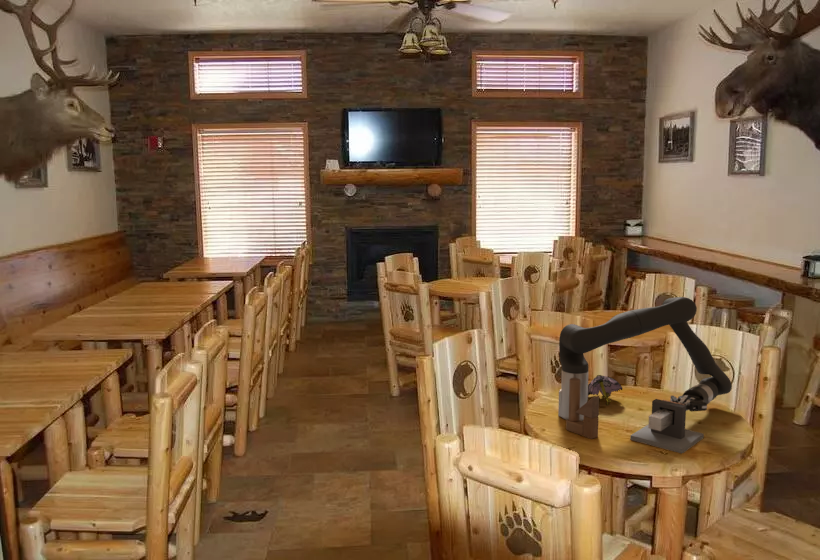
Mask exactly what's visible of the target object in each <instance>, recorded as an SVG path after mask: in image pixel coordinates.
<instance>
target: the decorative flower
mask: <svg viewBox="0 0 820 560" xmlns="http://www.w3.org/2000/svg"><path fill="white" fill-rule="evenodd" d="M618 391H623V386H622V384H620V383H619V382H618V380H616V379H615V378H612V377H609V376H606V375H602V374H598V375H596V377H594V378H593V379H592V380H591V382H589V383H588V397H589V396H590V395H591V396H594V395H595V396H599V394H601V395H602V396H601V399H605V400H606V403H605V404H606V406H609V405H610V403H611V402H612V400H611V399H610V398H609V397H610V396H612V394H611V393H613V392H618Z"/></svg>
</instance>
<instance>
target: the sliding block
mask: <svg viewBox="0 0 820 560" xmlns="http://www.w3.org/2000/svg"><path fill="white" fill-rule="evenodd" d="M662 400H663V401H668V402H672V401H670V400H667V399H662ZM673 403H676V402H673ZM677 404H681V403H677ZM682 405H684V404H682ZM674 415H675V410H670V409H666V408H661V409H660V410H658V411H656V412H655V413H653V414H652V413H651V414H650V415H648V424H647V425H648V428H650V429H654V430H658V431H662V430H663V429H665V428H666V427H668V426H670V425H671V424H673V423H674Z"/></svg>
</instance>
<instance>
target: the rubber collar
mask: <svg viewBox="0 0 820 560" xmlns="http://www.w3.org/2000/svg"><path fill="white" fill-rule="evenodd" d="M663 400H664V399H658V398H654V399H653V400H651V402H652V403H651V414H653V413H655V412H656V411H658V410H660V409H661V408H666V409H670V410H675V415H674V423H673V424H671V425H670V426H668V427H666V428H665V429H663V430H662V431H658V430H654V429H651V432H655V433H659V434H663V435H666V436H670V437H674V438H678V439H682V438H684V437H685V429H686V418H687V417H686V416H687V411H686V405H682V404H677V403H673V402H668V401H669V400H667V401H663Z"/></svg>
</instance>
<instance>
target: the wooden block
mask: <svg viewBox="0 0 820 560" xmlns="http://www.w3.org/2000/svg"><path fill="white" fill-rule="evenodd" d="M599 408H600V395H595V396H593V397H591V398H590V399H588V402H587V403H585V404H584V405H583V406H582V407H581V408H580V379H578V378H571V379H570V380H569V419H568V420H566V419H565V422H566V423H565V429H566V430H567V431H569V432H571V433H575V434H577V435H579V436H583V437H584V438H587V439H589V440H590V439H591V440H593V439H596V438H598V437H599V414H600V413H599V412H600V409H599ZM580 415H584V420H583V421H581V420H580Z"/></svg>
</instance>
